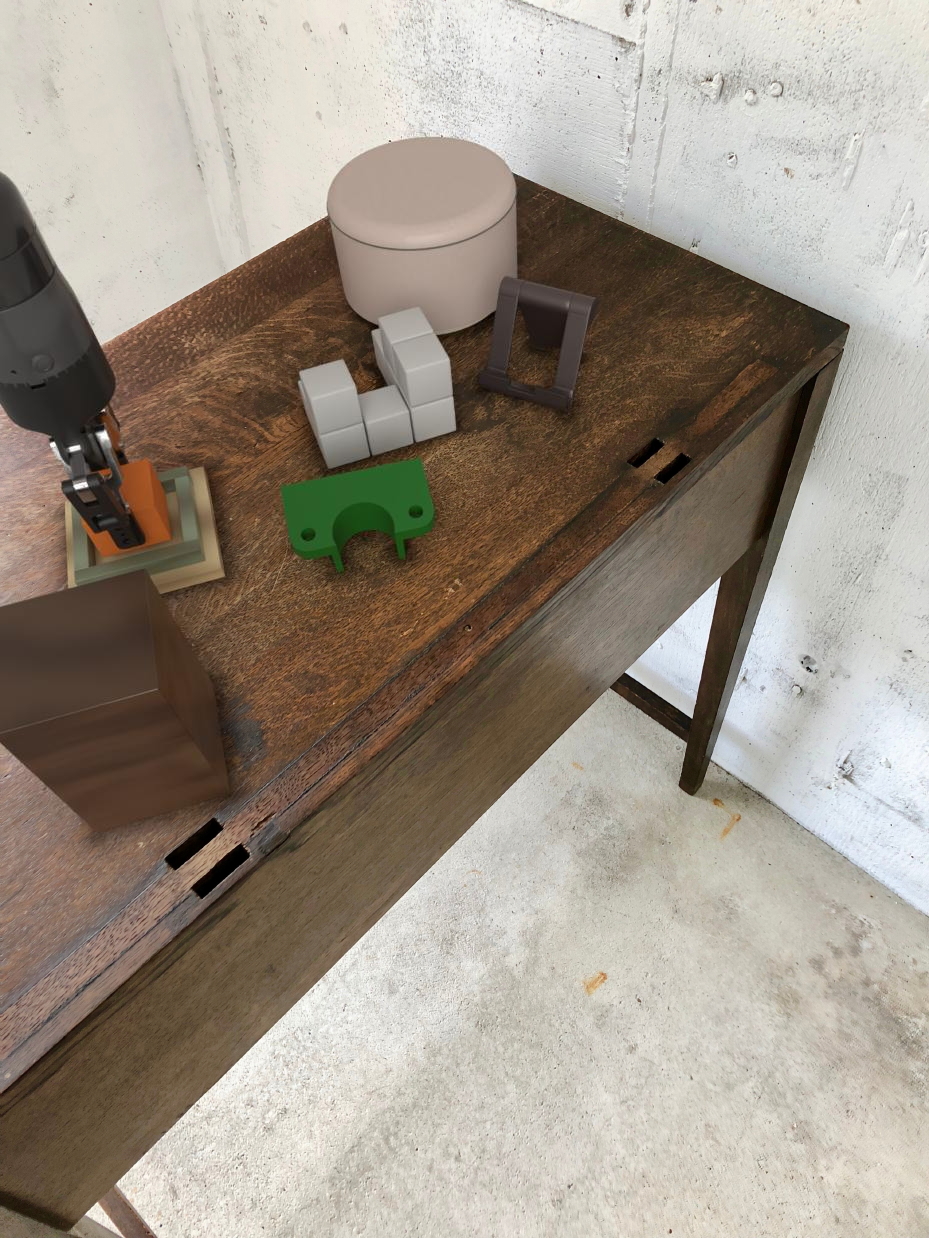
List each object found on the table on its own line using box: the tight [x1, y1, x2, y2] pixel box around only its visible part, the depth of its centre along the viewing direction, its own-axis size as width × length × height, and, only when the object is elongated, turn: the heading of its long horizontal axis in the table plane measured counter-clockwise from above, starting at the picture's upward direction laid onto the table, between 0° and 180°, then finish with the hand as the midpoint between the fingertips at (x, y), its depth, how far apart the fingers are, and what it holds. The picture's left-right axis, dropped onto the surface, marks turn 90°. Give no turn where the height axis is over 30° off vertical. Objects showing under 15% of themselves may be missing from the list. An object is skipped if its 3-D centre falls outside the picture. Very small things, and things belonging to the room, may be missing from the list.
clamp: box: [279, 457, 436, 573], centre depth 69 cm, size 12×6×9 cm, turn 97°
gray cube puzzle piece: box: [297, 307, 457, 470], centre depth 78 cm, size 12×12×8 cm
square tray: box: [64, 465, 226, 595], centre depth 72 cm, size 12×12×3 cm
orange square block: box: [82, 458, 172, 558], centre depth 70 cm, size 6×6×4 cm
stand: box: [0, 569, 231, 834], centre depth 56 cm, size 9×9×14 cm
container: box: [326, 136, 518, 336], centre depth 86 cm, size 18×18×12 cm
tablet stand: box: [478, 276, 599, 413], centre depth 78 cm, size 9×8×8 cm
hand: (130, 516), depth 70 cm, fingers closed on orange square block, 5 cm apart
